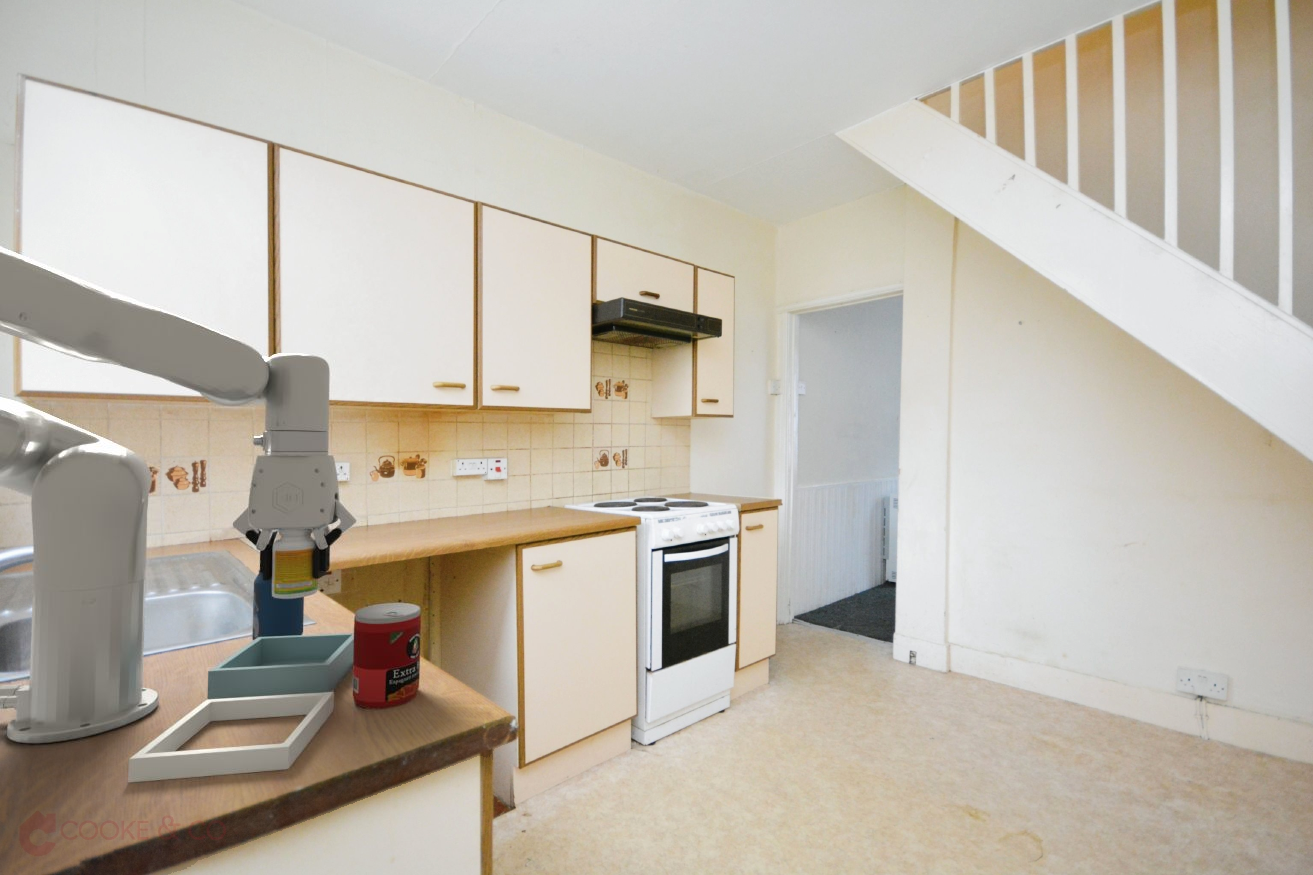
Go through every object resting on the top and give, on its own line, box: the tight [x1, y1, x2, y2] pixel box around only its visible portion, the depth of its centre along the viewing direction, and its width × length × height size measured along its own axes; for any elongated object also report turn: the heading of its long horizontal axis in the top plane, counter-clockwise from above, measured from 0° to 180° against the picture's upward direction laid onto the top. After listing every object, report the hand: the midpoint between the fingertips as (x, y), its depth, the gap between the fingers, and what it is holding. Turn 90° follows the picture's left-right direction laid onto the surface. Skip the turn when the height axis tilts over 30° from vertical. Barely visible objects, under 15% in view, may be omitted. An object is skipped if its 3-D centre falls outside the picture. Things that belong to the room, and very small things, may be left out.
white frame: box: [127, 691, 335, 783], centre depth 64 cm, size 14×14×2 cm
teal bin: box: [206, 632, 354, 700], centre depth 82 cm, size 14×14×4 cm
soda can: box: [251, 569, 305, 641], centre depth 97 cm, size 7×7×12 cm
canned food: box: [352, 602, 422, 710], centre depth 77 cm, size 8×8×11 cm
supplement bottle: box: [272, 529, 319, 599], centre depth 82 cm, size 5×5×10 cm
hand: (295, 576), depth 82 cm, fingers closed on supplement bottle, 5 cm apart
